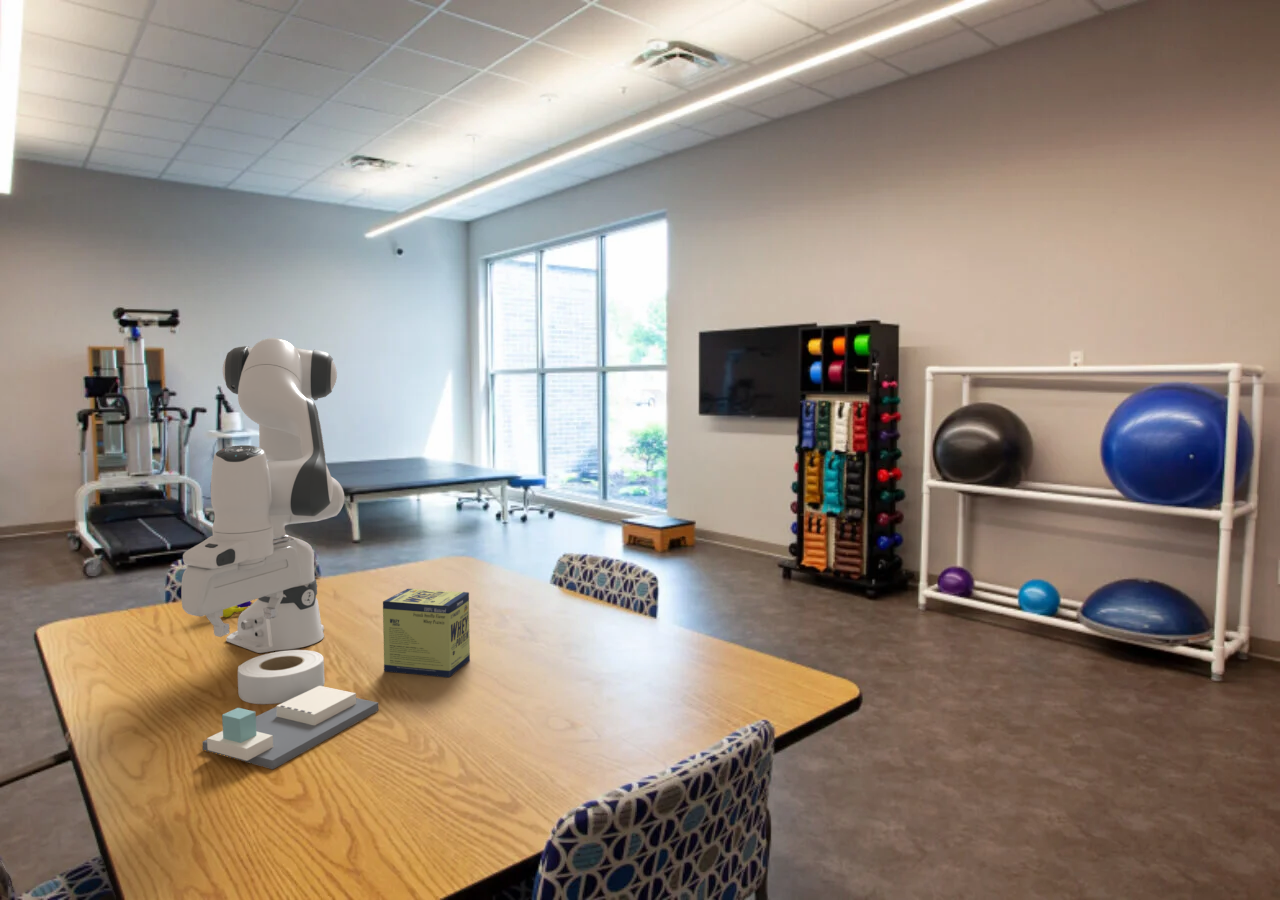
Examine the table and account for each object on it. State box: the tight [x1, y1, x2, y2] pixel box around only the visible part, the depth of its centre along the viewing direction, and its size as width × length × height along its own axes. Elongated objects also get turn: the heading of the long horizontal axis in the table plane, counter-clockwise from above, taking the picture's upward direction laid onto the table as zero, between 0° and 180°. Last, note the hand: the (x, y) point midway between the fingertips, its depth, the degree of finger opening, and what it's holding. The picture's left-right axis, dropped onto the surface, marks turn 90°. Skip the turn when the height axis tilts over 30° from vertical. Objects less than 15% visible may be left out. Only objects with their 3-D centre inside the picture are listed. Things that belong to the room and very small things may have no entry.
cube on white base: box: [206, 707, 273, 761], centre depth 126 cm, size 9×5×6 cm, turn 67°
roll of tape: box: [237, 649, 326, 705], centre depth 155 cm, size 16×16×6 cm
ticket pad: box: [275, 685, 357, 726], centre depth 141 cm, size 9×10×2 cm
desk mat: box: [202, 697, 380, 770], centre depth 137 cm, size 16×24×2 cm, turn 157°
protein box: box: [382, 588, 471, 678], centre depth 167 cm, size 10×16×16 cm
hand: (247, 626), depth 129 cm, fingers open, 8 cm apart
